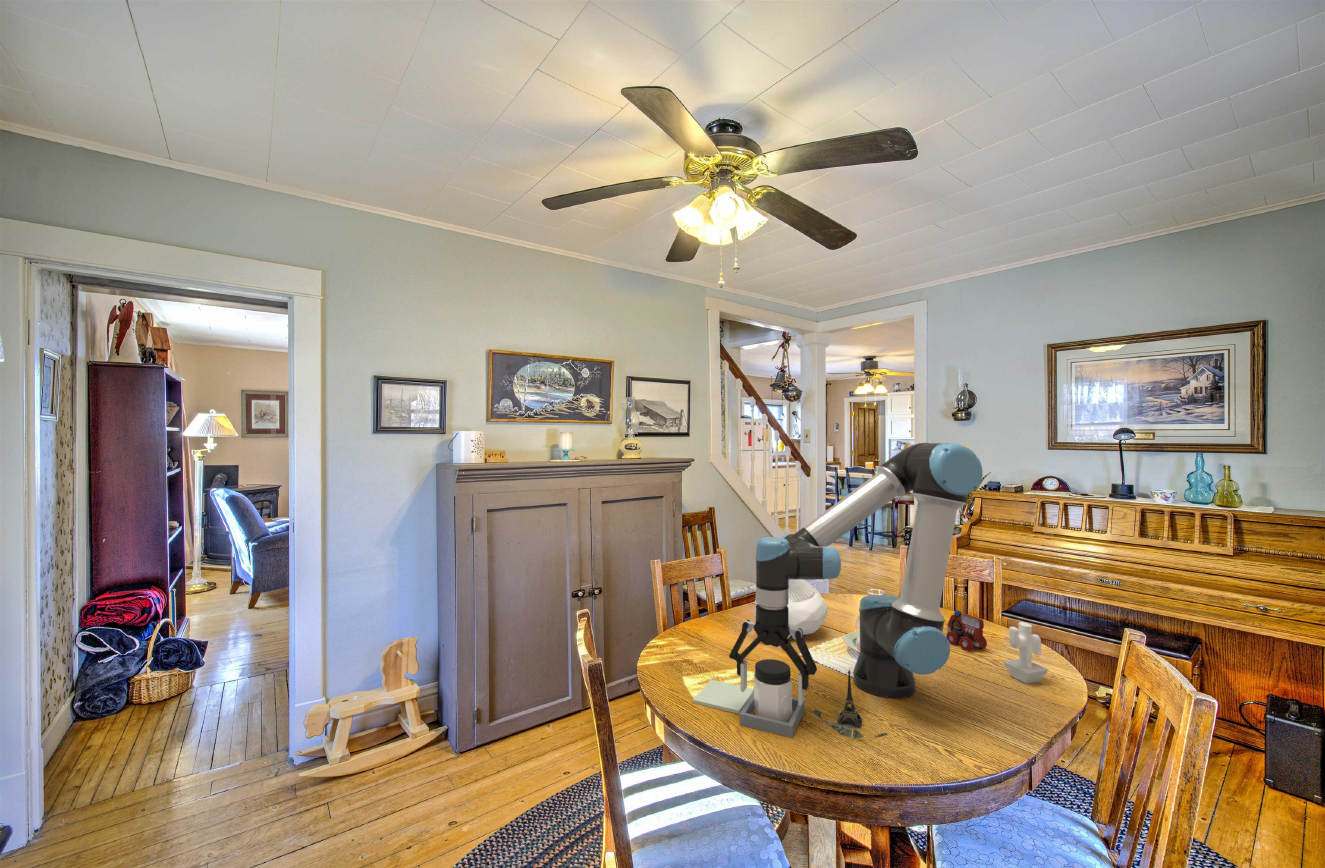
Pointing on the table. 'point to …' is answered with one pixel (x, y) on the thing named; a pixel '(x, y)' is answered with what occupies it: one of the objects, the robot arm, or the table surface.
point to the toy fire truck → (966, 631)
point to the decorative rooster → (805, 607)
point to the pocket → (770, 724)
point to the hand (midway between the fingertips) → (771, 695)
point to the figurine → (1025, 654)
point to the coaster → (723, 696)
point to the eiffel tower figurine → (847, 717)
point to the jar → (773, 690)
